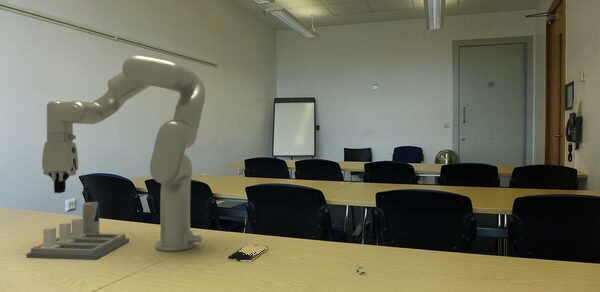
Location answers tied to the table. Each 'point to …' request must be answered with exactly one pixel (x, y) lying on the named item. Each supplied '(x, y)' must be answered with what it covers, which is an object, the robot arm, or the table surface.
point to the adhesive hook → (359, 265)
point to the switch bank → (81, 247)
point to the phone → (243, 257)
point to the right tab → (77, 228)
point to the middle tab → (65, 233)
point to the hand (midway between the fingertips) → (59, 192)
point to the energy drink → (91, 217)
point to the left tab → (49, 238)
